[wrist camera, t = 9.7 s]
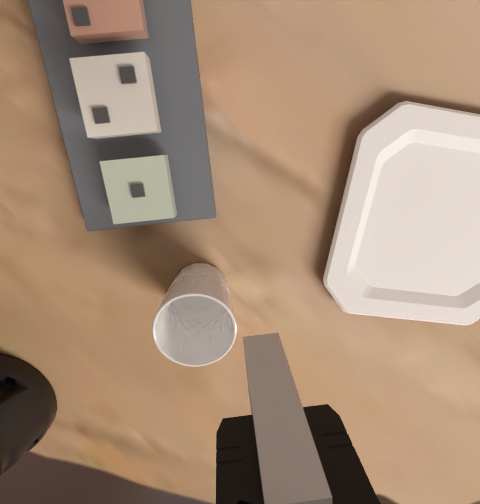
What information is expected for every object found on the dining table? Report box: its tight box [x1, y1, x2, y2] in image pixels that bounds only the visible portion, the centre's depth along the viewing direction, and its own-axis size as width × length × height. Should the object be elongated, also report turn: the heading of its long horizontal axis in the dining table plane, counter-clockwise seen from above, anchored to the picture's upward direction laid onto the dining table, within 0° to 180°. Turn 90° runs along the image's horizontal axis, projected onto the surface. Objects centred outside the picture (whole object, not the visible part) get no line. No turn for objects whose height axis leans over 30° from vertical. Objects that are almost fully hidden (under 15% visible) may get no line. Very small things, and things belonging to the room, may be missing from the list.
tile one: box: [99, 155, 177, 224], centre depth 30 cm, size 6×6×2 cm
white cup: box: [152, 263, 237, 366], centre depth 34 cm, size 8×8×10 cm
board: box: [28, 0, 216, 231], centre depth 31 cm, size 14×24×2 cm, turn 5°
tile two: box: [69, 52, 161, 139], centre depth 27 cm, size 6×6×2 cm
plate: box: [323, 101, 480, 325], centre depth 37 cm, size 25×25×2 cm
